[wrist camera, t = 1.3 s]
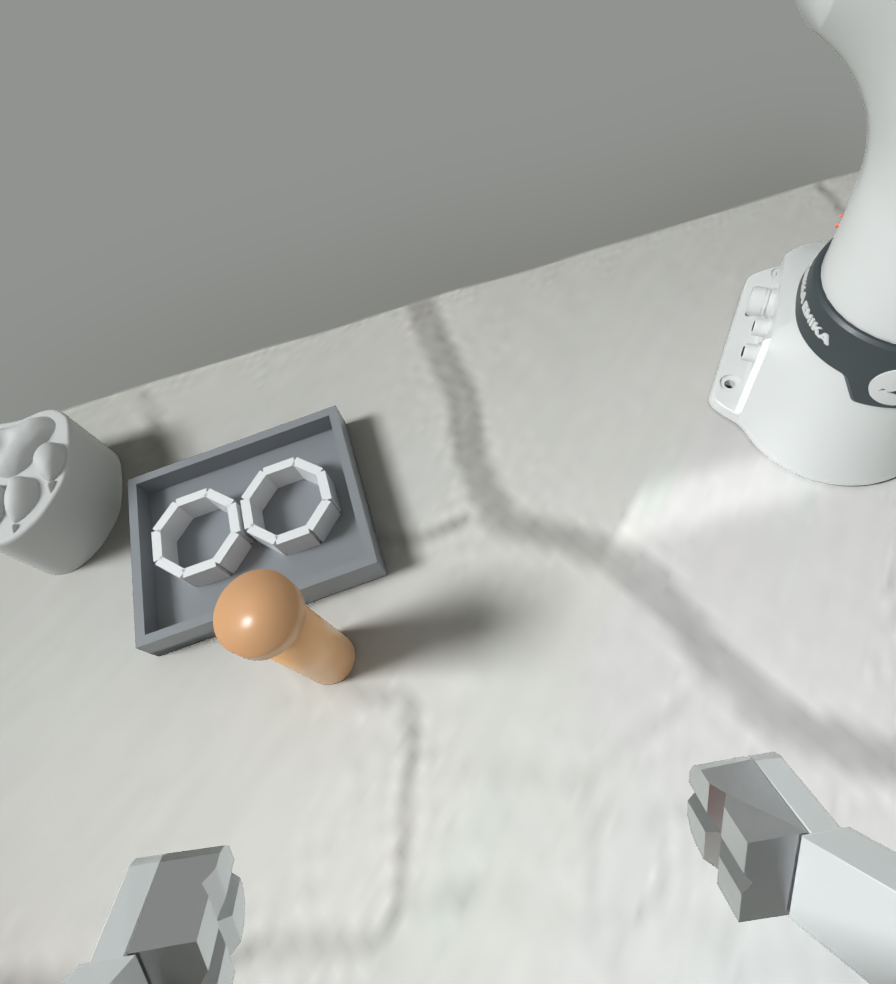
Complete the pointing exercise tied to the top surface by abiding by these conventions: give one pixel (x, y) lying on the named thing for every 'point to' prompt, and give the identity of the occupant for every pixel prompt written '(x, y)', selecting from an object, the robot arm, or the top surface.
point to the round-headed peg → (280, 627)
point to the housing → (248, 526)
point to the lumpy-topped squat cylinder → (55, 492)
